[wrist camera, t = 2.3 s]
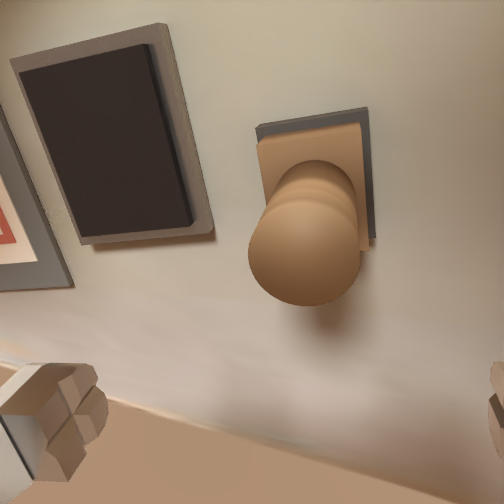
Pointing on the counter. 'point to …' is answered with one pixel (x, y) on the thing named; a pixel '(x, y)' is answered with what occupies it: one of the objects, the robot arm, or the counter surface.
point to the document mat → (24, 227)
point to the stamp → (313, 206)
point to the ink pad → (118, 135)
